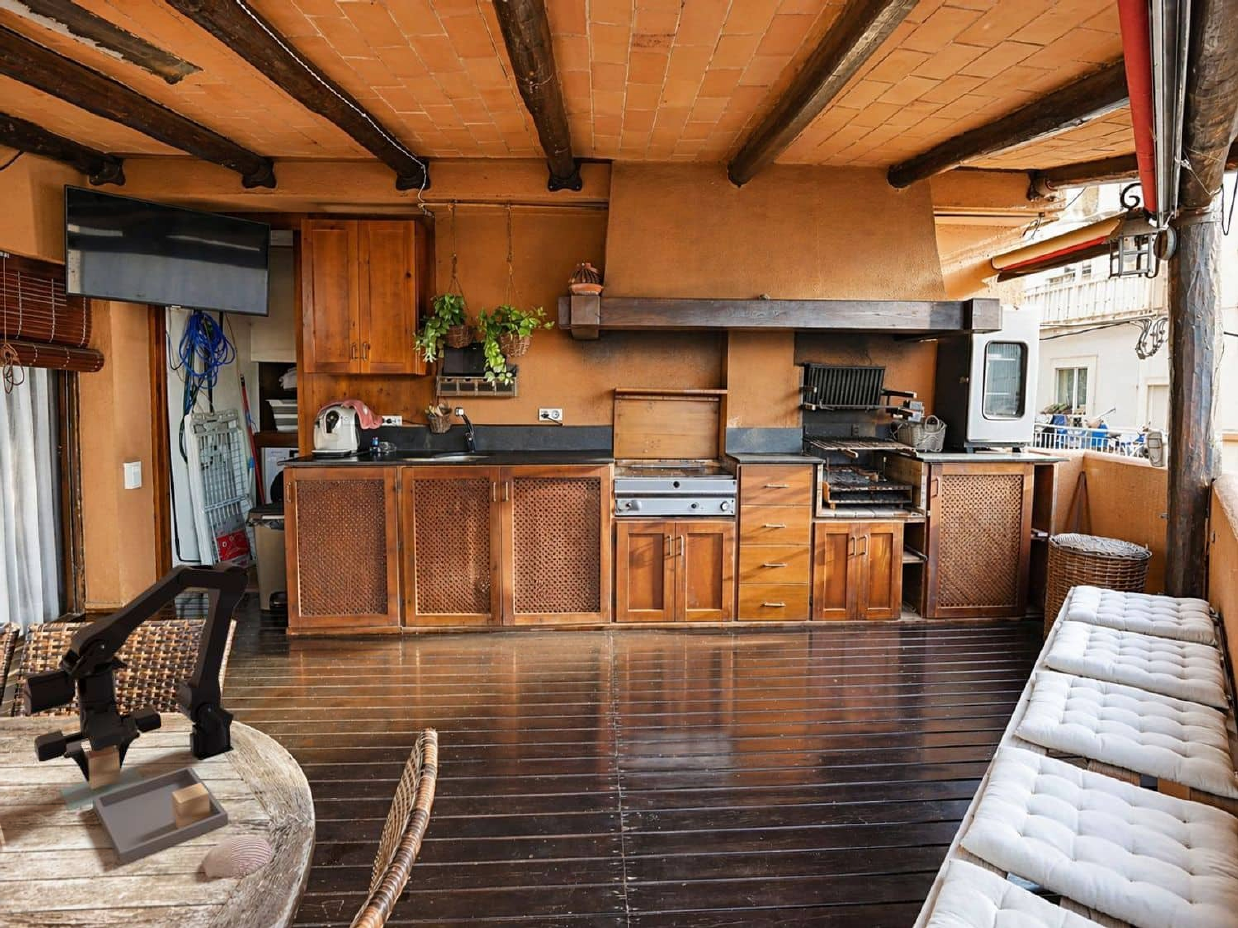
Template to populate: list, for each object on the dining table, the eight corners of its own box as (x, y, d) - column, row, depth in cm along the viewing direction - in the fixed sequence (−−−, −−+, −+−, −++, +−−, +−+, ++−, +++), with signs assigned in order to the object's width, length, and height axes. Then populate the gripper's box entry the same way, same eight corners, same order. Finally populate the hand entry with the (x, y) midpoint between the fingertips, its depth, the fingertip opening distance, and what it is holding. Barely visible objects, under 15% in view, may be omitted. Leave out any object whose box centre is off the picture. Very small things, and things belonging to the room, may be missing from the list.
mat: (135, 768, 145) (135, 766, 145) (147, 786, 139) (147, 784, 139) (60, 792, 137) (59, 789, 137) (69, 812, 131) (68, 810, 130)
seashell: (180, 856, 115) (234, 810, 124) (190, 883, 116) (242, 836, 125) (227, 873, 111) (279, 823, 120) (236, 900, 112) (287, 850, 121)
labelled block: (115, 770, 141) (113, 742, 140) (120, 779, 138) (118, 750, 137) (86, 779, 138) (84, 750, 137) (91, 789, 135) (89, 759, 134)
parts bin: (190, 777, 142) (190, 765, 142) (228, 826, 127) (227, 813, 127) (93, 810, 131) (92, 797, 131) (121, 868, 116) (120, 853, 116)
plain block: (202, 811, 131) (200, 782, 130) (210, 822, 127) (208, 792, 127) (173, 822, 127) (171, 792, 127) (181, 833, 124) (179, 803, 124)
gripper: (40, 727, 124) (47, 814, 125) (166, 694, 137) (171, 773, 139) (30, 705, 131) (37, 788, 133) (151, 676, 145) (156, 751, 146)
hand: (103, 775), depth 138 cm, fingers closed on labelled block, 4 cm apart
